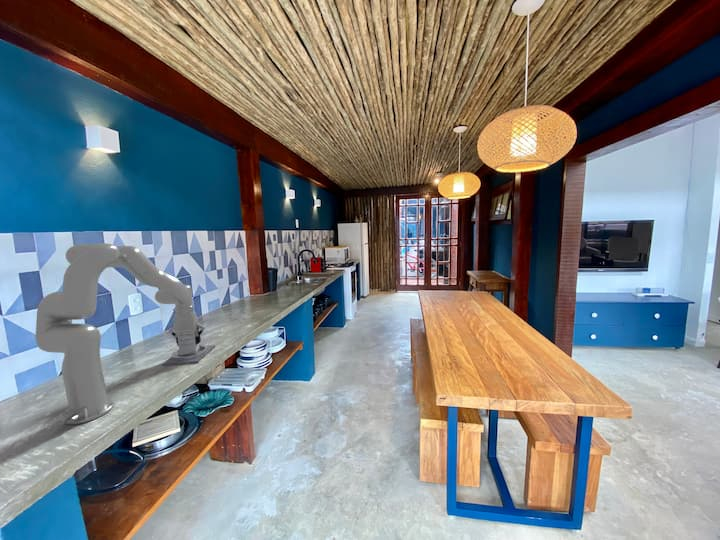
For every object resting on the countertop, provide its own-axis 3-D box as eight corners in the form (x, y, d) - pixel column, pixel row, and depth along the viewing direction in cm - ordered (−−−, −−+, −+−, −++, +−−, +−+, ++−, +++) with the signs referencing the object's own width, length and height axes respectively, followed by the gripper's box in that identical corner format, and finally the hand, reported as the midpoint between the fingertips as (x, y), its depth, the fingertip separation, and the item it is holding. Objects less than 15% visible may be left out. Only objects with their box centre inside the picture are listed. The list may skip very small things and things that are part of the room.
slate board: (198, 363, 135) (197, 361, 134) (162, 365, 133) (162, 363, 133) (215, 346, 154) (215, 344, 154) (184, 349, 153) (184, 347, 153)
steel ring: (199, 359, 137) (199, 356, 137) (165, 361, 135) (165, 358, 135) (212, 346, 152) (212, 343, 152) (182, 348, 151) (182, 346, 150)
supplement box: (183, 350, 146) (180, 326, 144) (199, 347, 148) (197, 324, 146) (179, 355, 139) (176, 330, 137) (196, 353, 141) (193, 328, 139)
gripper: (161, 313, 136) (166, 348, 138) (199, 310, 138) (203, 345, 140) (170, 309, 144) (174, 342, 146) (206, 307, 145) (210, 339, 147)
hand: (188, 343), depth 143 cm, fingers closed on supplement box, 8 cm apart
